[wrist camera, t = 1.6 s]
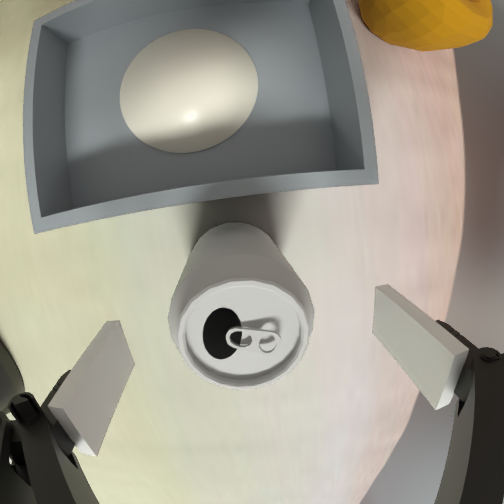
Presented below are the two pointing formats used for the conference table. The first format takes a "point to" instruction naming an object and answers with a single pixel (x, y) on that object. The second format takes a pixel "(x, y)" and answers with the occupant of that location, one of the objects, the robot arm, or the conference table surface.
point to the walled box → (190, 105)
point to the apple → (428, 22)
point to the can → (240, 309)
